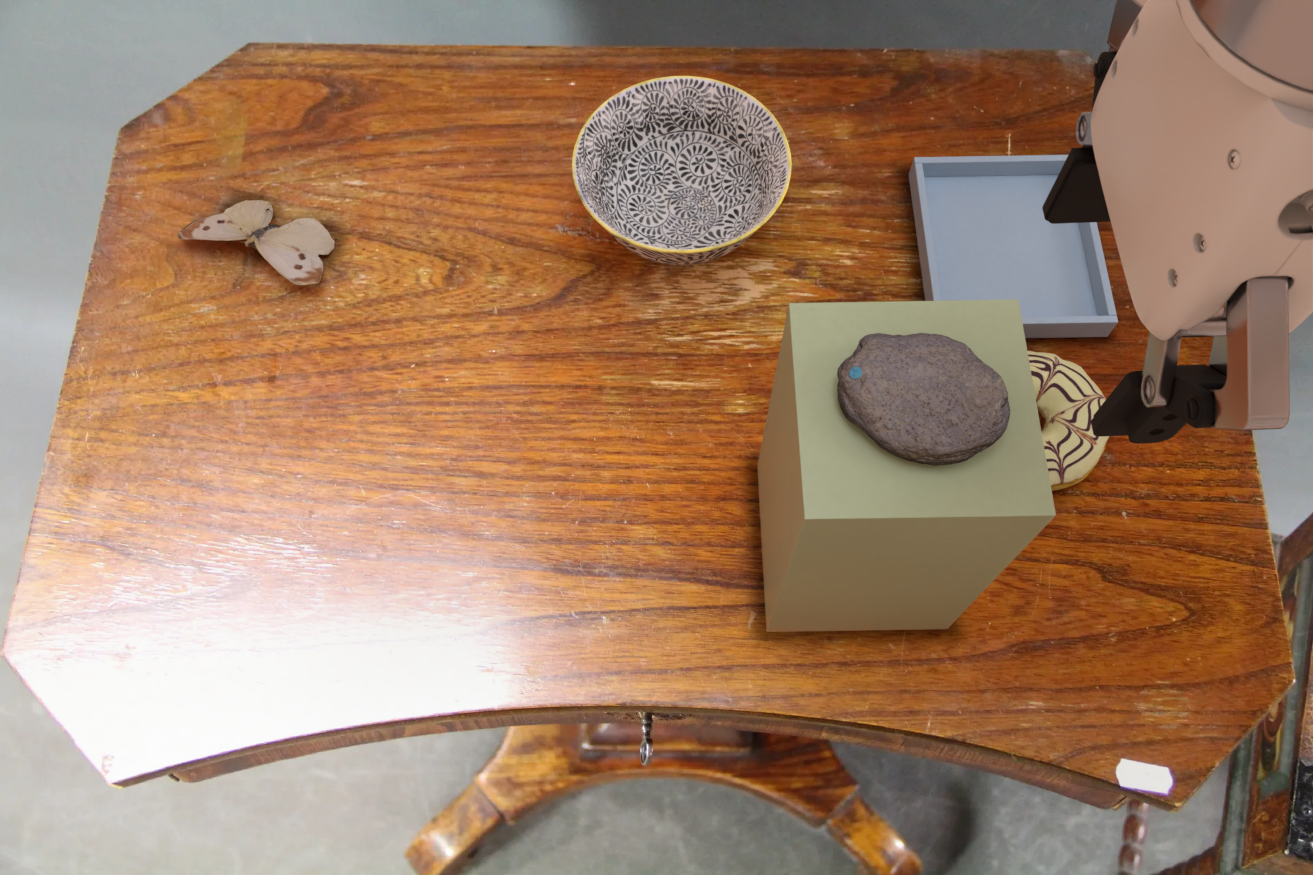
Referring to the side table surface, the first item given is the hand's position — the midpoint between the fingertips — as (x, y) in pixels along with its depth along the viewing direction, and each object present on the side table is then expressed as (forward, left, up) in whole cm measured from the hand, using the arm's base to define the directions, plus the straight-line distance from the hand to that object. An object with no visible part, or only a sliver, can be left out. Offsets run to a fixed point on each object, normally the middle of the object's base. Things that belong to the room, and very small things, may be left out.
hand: (1104, 317), depth 42 cm
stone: (+2, +5, -12) cm, 13 cm away
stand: (+2, +5, -34) cm, 34 cm away
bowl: (+29, +16, -34) cm, 47 cm away
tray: (+25, -9, -34) cm, 43 cm away
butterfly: (+27, +49, -34) cm, 65 cm away
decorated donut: (+10, -8, -34) cm, 36 cm away
